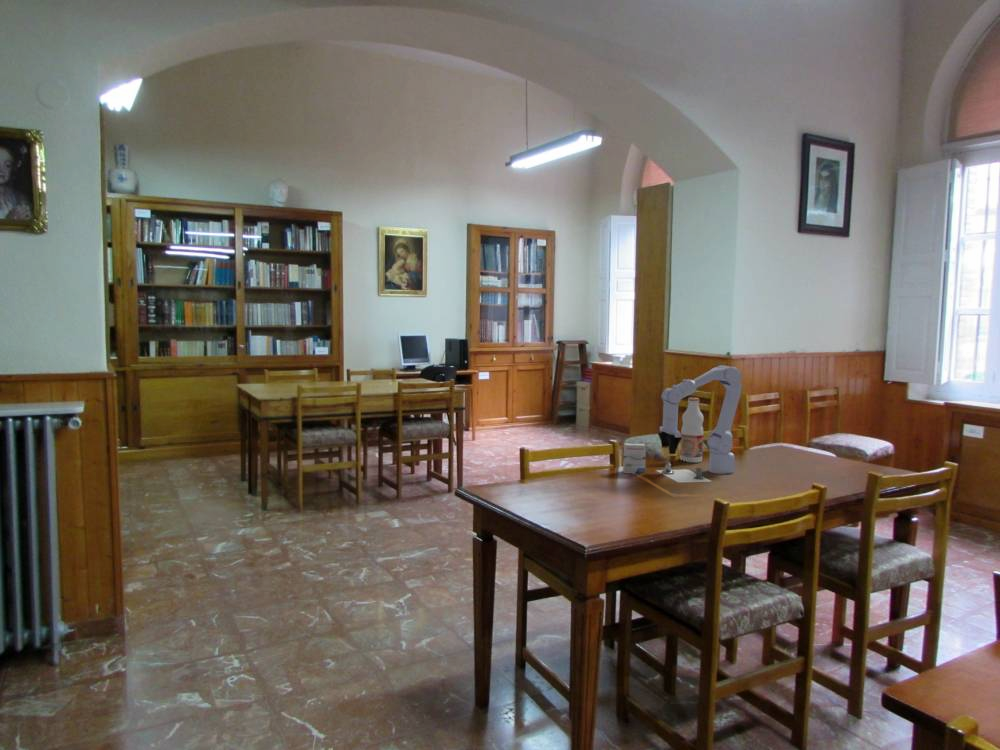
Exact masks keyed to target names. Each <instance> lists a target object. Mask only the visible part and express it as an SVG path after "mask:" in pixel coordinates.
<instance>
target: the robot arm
mask: <svg viewBox="0 0 1000 750" xmlns="http://www.w3.org/2000/svg"><path fill="white" fill-rule="evenodd" d="M742 375H743V374H742V373H741V372H740V370H739V369H738V368H737V367H735V366H729V365H723V364H719V365H717V366H716V367H713V368H711V369H709V370H708V371H706V372H704V373H703V374H701V375H699V376H698V377H696V378H694V379H689V378H687V379H686V378H684V379H682V382H680V383H677V384H673V385H672V387H667V388H665V389H663V391H662V393H661V394H660V397H661V399H662V402H663V410H662V411H663V412H662V413H663V414H662V426H661V425H660V426H659V432H658V433H657V435H658V438H659V440H660V444H661V447H662V446H669V453H670V454H675V453H676V450H678V446H679V443H681V439H682V437H681V431H680V430H678V423H679V422H678V420H679V417H678V416H679V403H680V402H681V401H682V399H684V398H687V396H690V395H691V394H694V393H695V392H696V391H697V388H699V387H701V386H704V385H706V384H708V383H710V382H712V381H719V382H720V383H721V384H722V386H723V387H724V388H725V389H726V391H725V394H724V395H725V396H724V399H723V402H722V406H721V409H720V412H719V413H720V414H719V417H718V420H717V423H716V427H715V428H713V430H712V431H711V434H710V435H708V438H707V440H706V444H707V447H709V460H708V461H709V462H708V463H709V464H708V465H709V466H708V472H710V473H713V474H717V475H718V474H719V475H720V474H723V475H724V474H735V471H736V470H735V467H736V458H735V454H734V453H733V452H731V451H732V449H733V434H732V432H731V429H732V425H733V422H734V418H735V414H736V411H737V408H738V404H739V400H740V397H741V393H742V389H743V386H742V380H741V378H742Z"/></svg>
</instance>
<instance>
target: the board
mask: <svg viewBox="0 0 1000 750" xmlns="http://www.w3.org/2000/svg"><path fill="white" fill-rule="evenodd" d="M695 469H696V471H695V472H693V471H692V470H689V469H687V468H686V469H671V471H674V474H663V473H662V471H663V470H664V469H660V470H659V469H656V470H655V472H658V473H660V474H662V475H663V476H665V477H667V478H669V479H671V480H673V481H674V482H677V483H706V482H713V481H712V480H710V479H708V478H707V477H704V476H702V475H703V474H702V473H703V472H702V469H703V468H702V467H696V468H695Z"/></svg>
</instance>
